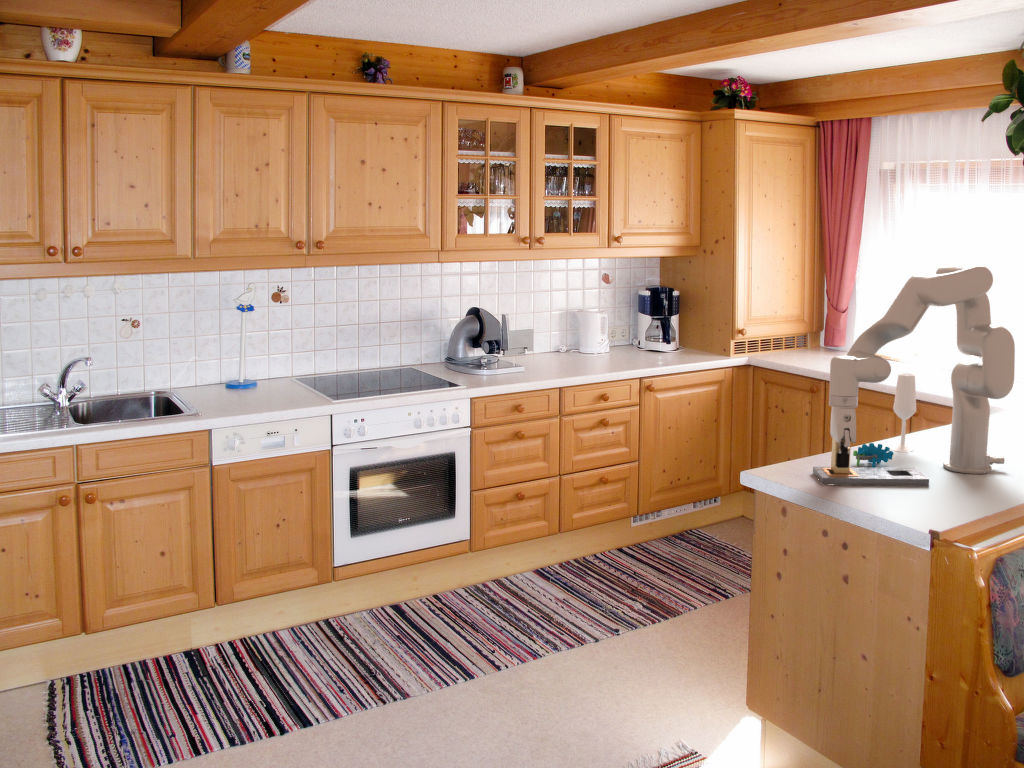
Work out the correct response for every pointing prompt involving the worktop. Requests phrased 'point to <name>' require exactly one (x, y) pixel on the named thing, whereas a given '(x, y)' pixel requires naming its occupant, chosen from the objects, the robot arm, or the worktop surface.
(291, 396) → the worktop surface
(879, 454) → the gear
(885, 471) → the rail plate
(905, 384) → the champagne flute
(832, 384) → the robot arm
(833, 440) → the peg
